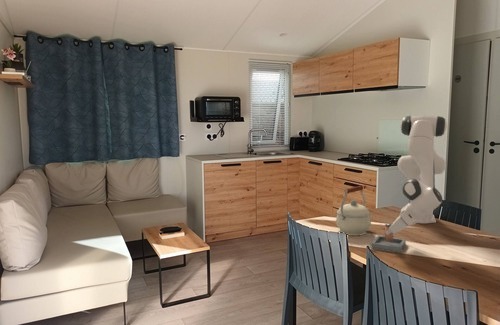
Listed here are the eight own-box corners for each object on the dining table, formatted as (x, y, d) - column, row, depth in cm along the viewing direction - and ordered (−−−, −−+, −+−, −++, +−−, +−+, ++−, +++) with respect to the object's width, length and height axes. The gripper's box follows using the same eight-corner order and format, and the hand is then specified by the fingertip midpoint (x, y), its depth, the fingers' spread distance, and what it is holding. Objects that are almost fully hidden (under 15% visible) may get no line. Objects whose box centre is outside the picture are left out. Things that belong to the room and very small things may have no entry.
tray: (377, 239, 193) (378, 235, 192) (405, 244, 186) (405, 239, 185) (371, 248, 181) (371, 242, 181) (400, 253, 175) (400, 247, 174)
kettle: (356, 240, 192) (357, 192, 189) (327, 232, 206) (327, 187, 203) (381, 230, 208) (383, 185, 205) (353, 223, 222) (354, 181, 219)
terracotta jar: (385, 238, 186) (386, 223, 185) (394, 240, 184) (394, 224, 183) (383, 241, 182) (384, 225, 181) (392, 242, 180) (392, 226, 179)
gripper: (409, 204, 186) (387, 221, 193) (401, 214, 169) (378, 232, 175) (418, 214, 184) (396, 231, 191) (411, 225, 167) (387, 243, 174)
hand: (387, 231), depth 183 cm, fingers closed on terracotta jar, 4 cm apart
